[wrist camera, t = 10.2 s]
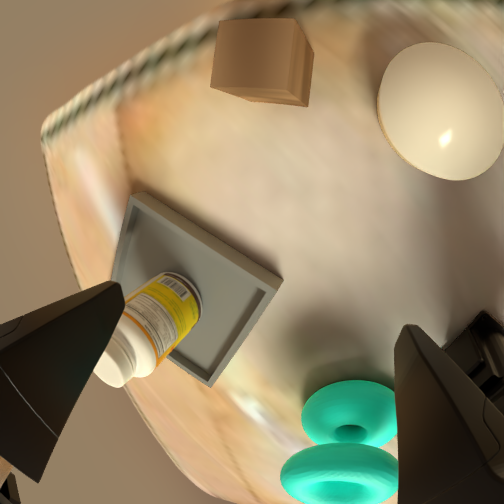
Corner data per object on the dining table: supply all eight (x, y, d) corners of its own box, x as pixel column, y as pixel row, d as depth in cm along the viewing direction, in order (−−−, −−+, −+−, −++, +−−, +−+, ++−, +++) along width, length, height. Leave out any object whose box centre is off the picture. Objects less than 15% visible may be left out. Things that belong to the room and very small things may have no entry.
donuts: (328, 518, 17) (251, 482, 18) (346, 444, 26) (285, 401, 27) (423, 495, 13) (350, 456, 13) (421, 409, 22) (362, 355, 22)
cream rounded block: (496, 98, 12) (518, 91, 9) (460, 195, 15) (478, 206, 12) (396, 39, 13) (402, 19, 10) (359, 138, 17) (359, 137, 14)
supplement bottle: (163, 322, 27) (93, 385, 18) (147, 269, 26) (62, 324, 16) (212, 326, 25) (144, 405, 16) (197, 268, 23) (110, 336, 14)
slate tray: (283, 280, 22) (277, 290, 20) (218, 377, 28) (210, 388, 27) (143, 191, 24) (130, 194, 22) (117, 301, 30) (106, 309, 29)
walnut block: (314, 53, 16) (295, 18, 10) (308, 107, 17) (286, 90, 12) (257, 50, 17) (219, 20, 11) (251, 101, 18) (210, 87, 13)
